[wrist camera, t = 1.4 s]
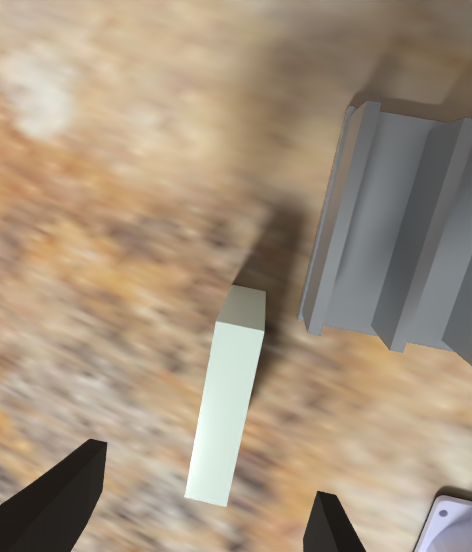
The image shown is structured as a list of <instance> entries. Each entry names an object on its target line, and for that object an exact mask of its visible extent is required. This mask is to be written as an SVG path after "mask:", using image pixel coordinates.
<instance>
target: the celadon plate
mask: <svg viewBox="0 0 472 552" xmlns="http://www.w3.org/2000/svg"><path fill="white" fill-rule="evenodd" d="M265 305H266V291H262V290H257V289H252V288H247V287H242V286H237V285H231V288H230V290H229V292H228V295H227V297H226V299H225V302H224V304H223V306H222V309H221V311H220V313H219V316H218V318H217V320H216V325H215V331H214V336H213V342H212V347H211V353H210V359H209V364H208V370H207V375H206V381H205V386H204V392H203V398H202V403H201V409H200V414H199V420H198V425H197V431H196V437H195V442H194V448H193V453H192V459H191V465H190V470H189V476H188V481H187V487H186V492H185V497H186V498H190V499H194V500H199V501H203V502H207V503H211V504H215V505H220V506H224V507H226V505H227V501H228V496H229V492H230V487H231V483H232V478H233V473H234V469H235V464H236V460H237V455H238V451H239V446H240V441H241V437H242V432H243V428H244V423H245V419H246V414H247V409H248V405H249V400H250V396H251V391H252V386H253V382H254V377H255V373H256V368H257V364H258V359H259V354H260V350H261V345H262V341H263V336H264V332H265Z"/></svg>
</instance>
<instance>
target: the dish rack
mask: <svg viewBox="0 0 472 552" xmlns="http://www.w3.org/2000/svg"><path fill="white" fill-rule="evenodd" d="M381 104H382V103H379V102H374V101H368V100H366V101H365V102H364V103H363V104H362V105H361V106H360V107H359V108H358V107H353V106H349V107H348V108H347V109H346V112H345V116H344V120H343V124H342V128H341V133H340V137H339V141H338V145H337V149H336V153H335V157H334V162H333V166H332V170H331V174H330V178H329V182H328V187H327V191H326V195H325V199H324V203H323V207H322V211H321V216H320V220H319V224H318V228H317V232H316V236H315V241H314V245H313V249H312V253H311V257H310V261H309V265H308V270H307V274H306V278H305V282H304V286H303V290H302V295H301V299H300V303H299V307H298V311H297V319H298V320H301V321H304V322H305V326H306V329H307V333H309V334H314V335H319V336H321V332H322V328H323V325H326V326H330V327H335V328H340V329H345V330H350V331H355V332H360V333H364V334H369V335H374V336H379V337H380V338H381V340H382V341H383V342H384V344H385V345H386V346H387V347H388V349H389V350H391V351H396V352H401V353H403V351H404V348H405V345H406V342H408V343H413V344H418V345H423V346H428V347H433V348H437V349H442V350H447V351H452V352H456V353H457V354H458V355H459V356H461V357H462V358H463V359H464V360H465V361H467V362H468V363H469V364H470V365H471V366H472V118H467V117H464V118H461V119H459V120H456V121H454V122H451V123H445V122H440V121H434V120H428V119H422V118H416V117H411V116H405V115H399V114H393V113H387V112H382V111H380V108H381Z"/></svg>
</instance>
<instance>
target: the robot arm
mask: <svg viewBox="0 0 472 552" xmlns="http://www.w3.org/2000/svg"><path fill="white" fill-rule="evenodd" d="M106 451H107V442H103V441H98V440H94V439H89V440H87V441H86V442H85V443H83V444H82V445H81V446H80V447H78V448H77V449H76V450H75V451H73V452H72V453H71V454H70V455H68V456H67V457H66V458H64V459H63V460H62V461H61V462H59V463H58V464H57V465H55V466H54V467H53V468H51V469H50V470H49V471H47V472H46V473H45V474H43V475H42V476H41V477H39V478H38V479H37V480H35V481H34V482H33V483H31V484H30V485H28V486H27V487H26V488H24V489H23V490H21V491H20V492H18V493H17V494H16V495H14V496H13V497H11V498H10V499H8V500H7V501H5V502H4V503H2V504H1V505H0V552H71V550H72V548H73V547H74V545H75V543H76V542H77V540H78V538H79V537H80V535H81V533H82V531H83V530H84V528H85V526H86V525H87V523H88V520H89V518H90V516H91V514H92V512H93V510H94V508H95V506H96V504H97V501H98V499H99V497H100V495H101V493H102V490H103V480H104V470H105V461H106ZM441 510H443V511H441ZM303 552H366V550H365V549H364V547H363V545H362V543H361V541H360V539H359V538H358V536H357V534H356V532H355V530H354V528H353V526H352V524H351V523H350V521H349V519H348V517H347V515H346V513H345V511H344V509H343V507H342V505H341V503H340V501H339V499H338V498H337V496H336V495H334V494H329V493H325V492H321V491H317V494H316V497H315V501H314V504H313V507H312V511H311V514H310V517H309V521H308V524H307V527H306V531H305V534H304V537H303ZM414 552H472V501H468V500H463V499H459V498H454V497H450V496H445V495H442V496H439V497H437V498H436V500H435V502H434V505H433V507H432V510H431V512H430V514H429V517H428V519H427V522H426V524H425V527H424V529H423V532H422V534H421V537H420V539H419V541H418V544H417V546H416V549H415V551H414Z"/></svg>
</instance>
